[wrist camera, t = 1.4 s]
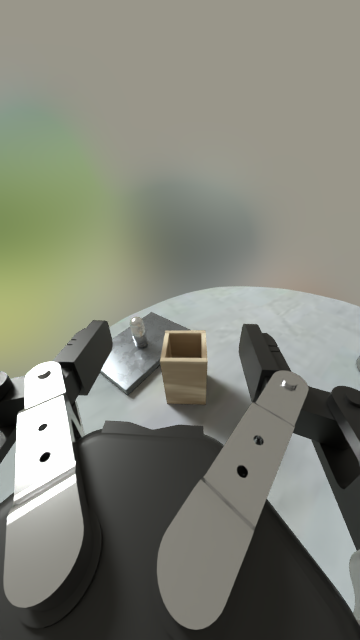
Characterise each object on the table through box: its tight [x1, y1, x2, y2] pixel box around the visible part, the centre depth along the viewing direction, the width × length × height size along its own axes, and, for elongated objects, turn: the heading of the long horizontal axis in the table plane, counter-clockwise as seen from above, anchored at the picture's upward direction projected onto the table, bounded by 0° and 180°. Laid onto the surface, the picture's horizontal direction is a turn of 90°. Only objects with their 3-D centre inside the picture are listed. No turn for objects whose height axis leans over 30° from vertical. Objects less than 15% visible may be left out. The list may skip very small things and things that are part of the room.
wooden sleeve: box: [160, 330, 207, 405], centre depth 31 cm, size 6×6×10 cm
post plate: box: [100, 312, 190, 395], centre depth 39 cm, size 18×12×8 cm, turn 142°
